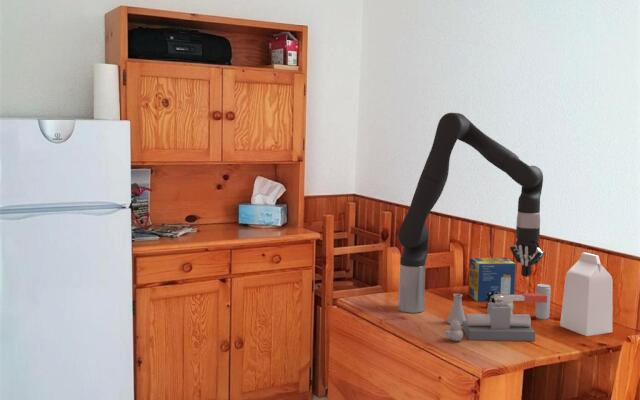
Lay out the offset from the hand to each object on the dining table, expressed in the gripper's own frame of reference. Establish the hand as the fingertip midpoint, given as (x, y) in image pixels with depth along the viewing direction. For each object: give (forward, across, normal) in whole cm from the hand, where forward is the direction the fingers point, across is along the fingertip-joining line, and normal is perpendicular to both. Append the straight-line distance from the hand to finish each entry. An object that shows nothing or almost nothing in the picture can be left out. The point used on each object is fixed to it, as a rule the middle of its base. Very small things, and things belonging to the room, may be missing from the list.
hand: (526, 276), depth 220 cm
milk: (+19, +12, +18) cm, 28 cm away
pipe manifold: (+18, 0, -13) cm, 22 cm away
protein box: (+18, -33, +21) cm, 43 cm away
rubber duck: (+18, -4, -30) cm, 35 cm away
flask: (+18, -17, -15) cm, 29 cm away
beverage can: (+18, -4, +16) cm, 25 cm away
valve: (+18, -18, +9) cm, 27 cm away
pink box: (+7, +4, -8) cm, 11 cm away
